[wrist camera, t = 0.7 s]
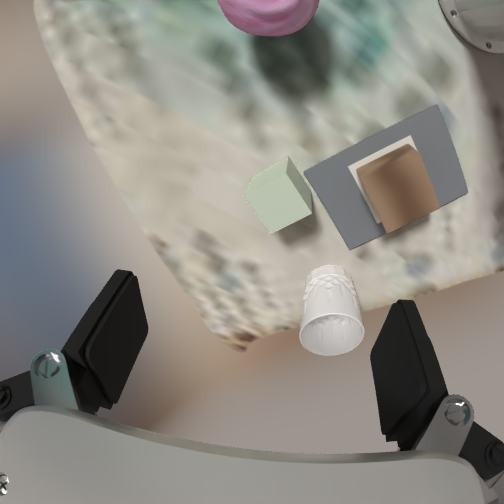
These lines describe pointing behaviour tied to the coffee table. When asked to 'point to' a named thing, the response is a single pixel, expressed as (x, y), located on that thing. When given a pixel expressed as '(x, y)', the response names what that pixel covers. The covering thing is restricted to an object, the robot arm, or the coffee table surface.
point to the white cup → (330, 313)
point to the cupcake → (269, 15)
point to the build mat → (346, 162)
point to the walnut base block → (399, 187)
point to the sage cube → (279, 195)
